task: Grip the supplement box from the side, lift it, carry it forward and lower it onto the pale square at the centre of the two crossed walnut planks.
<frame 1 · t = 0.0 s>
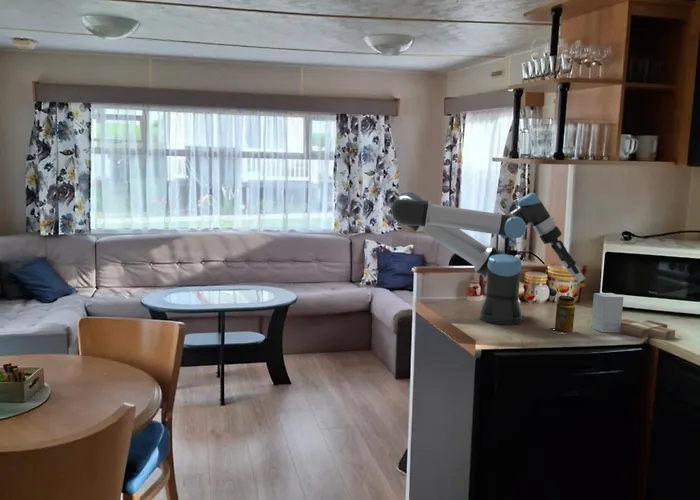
hand: (578, 277, 245), 15 cm above the counter, tool tilted 35°, fingers open, 13 cm apart
condiment: (561, 331, 225), on the counter
cross stand: (644, 332, 227), on the counter
supplement box: (605, 330, 229), on the counter
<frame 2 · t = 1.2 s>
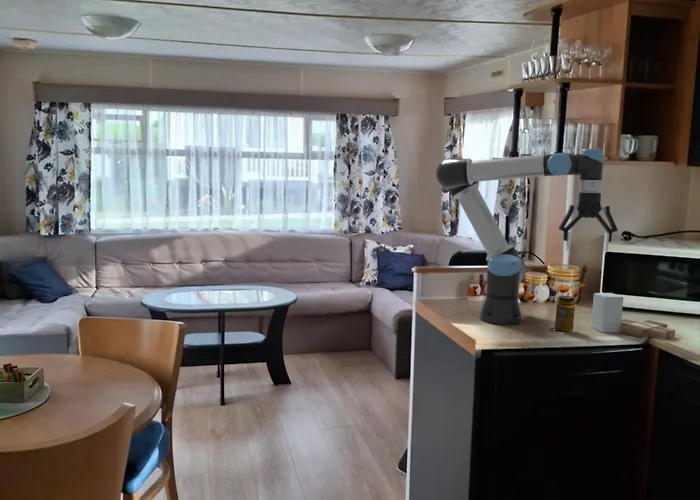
hand: (586, 250, 237), 27 cm above the counter, tool pointing down, fingers open, 13 cm apart
nothing on the counter moved.
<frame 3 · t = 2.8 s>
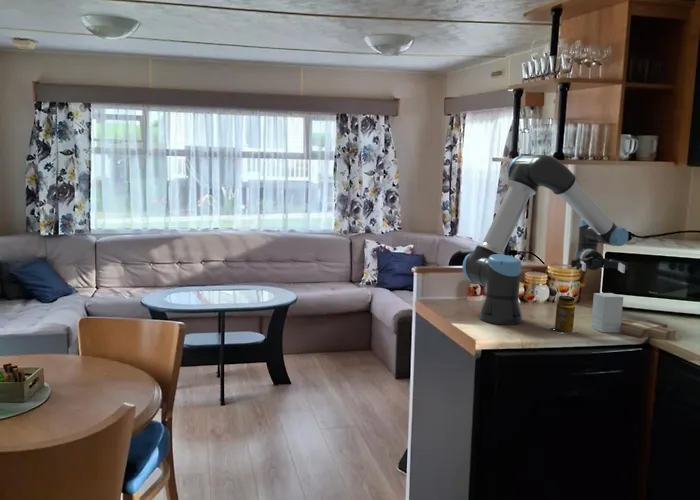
hand: (604, 268, 235), 20 cm above the counter, tool horizontal, fingers open, 13 cm apart
nothing on the counter moved.
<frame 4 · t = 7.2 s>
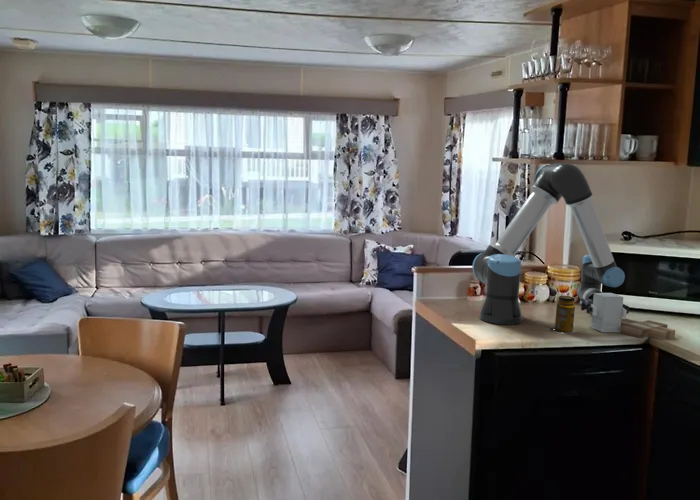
hand: (610, 313, 224), 7 cm above the counter, tool horizontal, fingers closed on supplement box, 9 cm apart
supplement box: (605, 330, 229), on the counter, touching gripper
everything else where it was.
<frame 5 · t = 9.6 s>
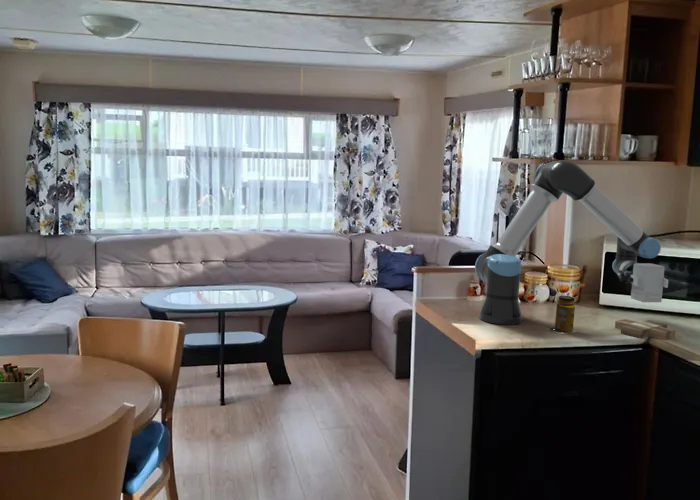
hand: (651, 282, 220), 18 cm above the counter, tool horizontal, fingers closed on supplement box, 9 cm apart
supplement box: (645, 300, 226), point 11 cm above the counter, touching gripper
everything else where it was.
when the fingers open (11 cm above the counter, at t = 11.8 s): supplement box drops 1 cm, resting on cross stand.
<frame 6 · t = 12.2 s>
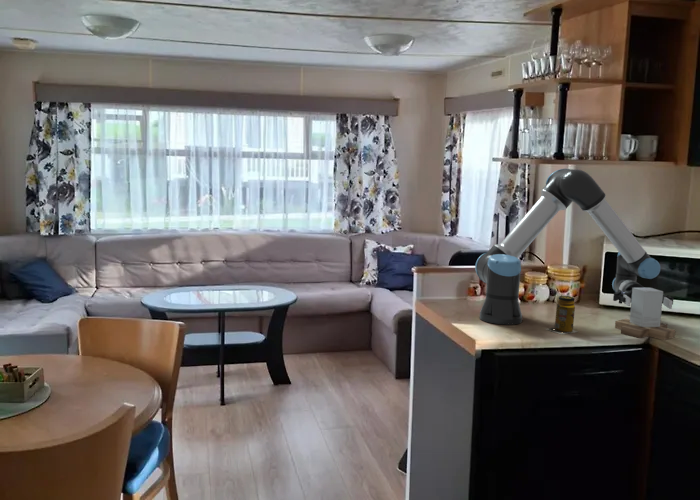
hand: (650, 303, 222), 11 cm above the counter, tool horizontal, fingers open, 13 cm apart
supplement box: (644, 325, 227), point 3 cm above the counter, touching cross stand
everything else where it was.
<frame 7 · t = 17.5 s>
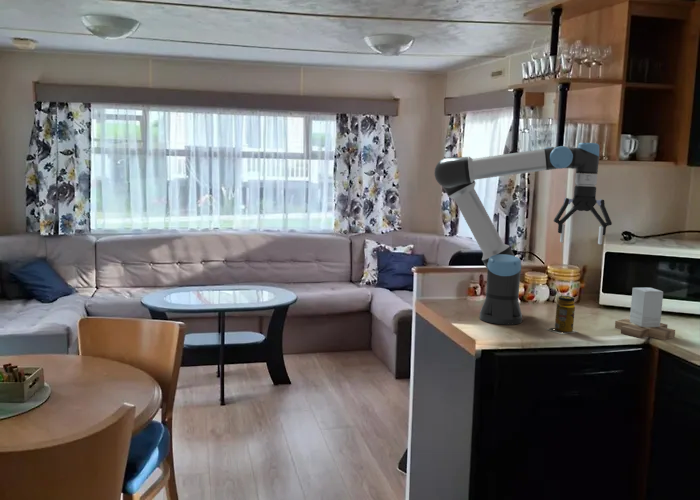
hand: (580, 243, 240), 29 cm above the counter, tool pointing down, fingers open, 13 cm apart
nothing on the counter moved.
at the end: supplement box inside the target area on the cross stand (0.1 cm from its centre), point 2.6 cm above the cross stand's base; supplement box tilted 0°; the gripper is holding nothing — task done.
